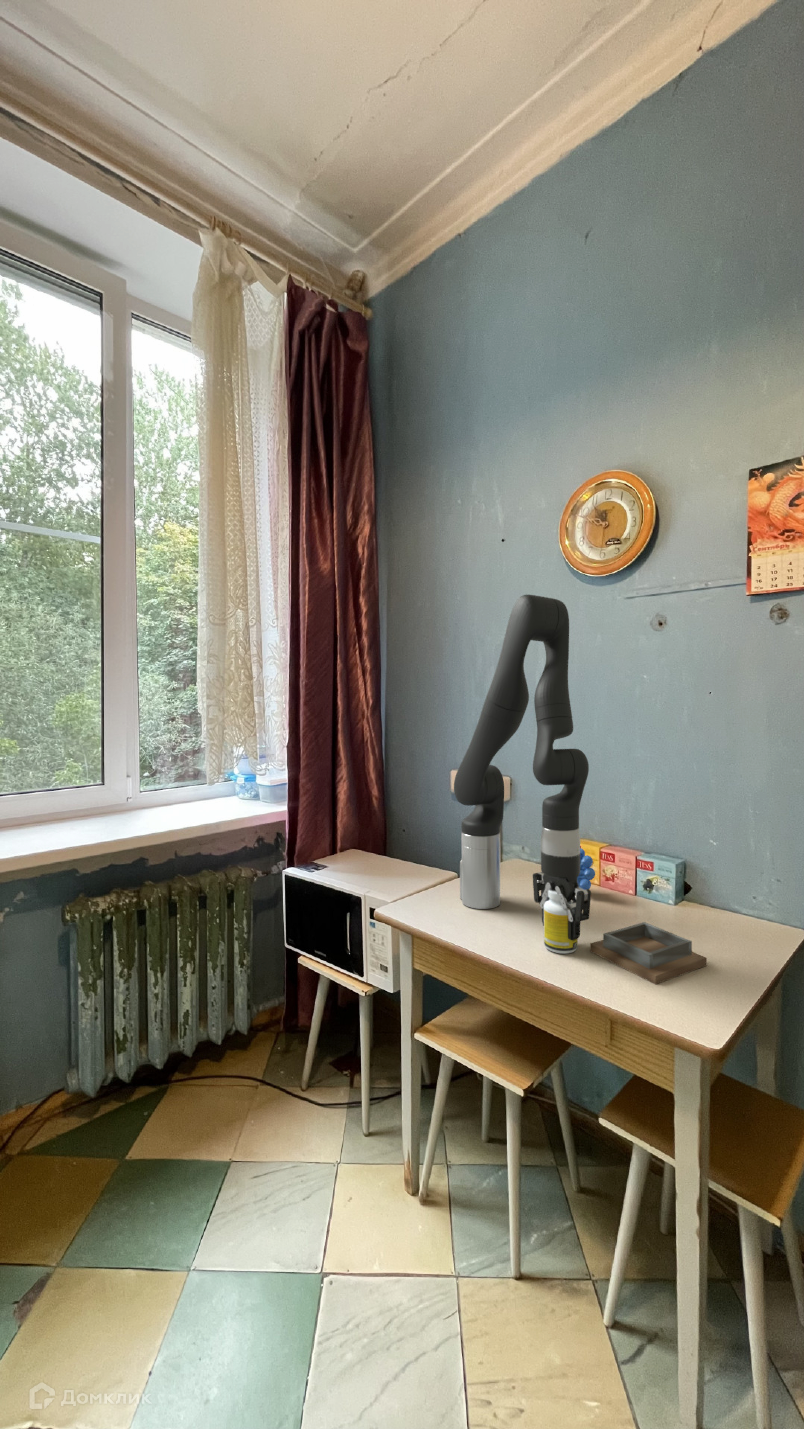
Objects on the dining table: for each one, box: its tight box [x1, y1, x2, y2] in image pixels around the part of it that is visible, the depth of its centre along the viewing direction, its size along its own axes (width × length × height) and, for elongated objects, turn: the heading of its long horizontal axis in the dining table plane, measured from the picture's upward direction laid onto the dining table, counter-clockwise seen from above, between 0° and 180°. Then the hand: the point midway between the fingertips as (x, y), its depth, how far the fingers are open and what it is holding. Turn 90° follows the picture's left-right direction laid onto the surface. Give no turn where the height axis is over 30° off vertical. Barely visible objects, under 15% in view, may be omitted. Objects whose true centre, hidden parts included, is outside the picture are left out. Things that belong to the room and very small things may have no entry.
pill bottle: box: [543, 890, 578, 955], centre depth 117 cm, size 6×6×12 cm
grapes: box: [577, 847, 596, 890], centre depth 148 cm, size 12×7×12 cm, turn 30°
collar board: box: [589, 921, 708, 985], centre depth 112 cm, size 15×14×4 cm
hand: (560, 932), depth 117 cm, fingers closed on pill bottle, 6 cm apart
